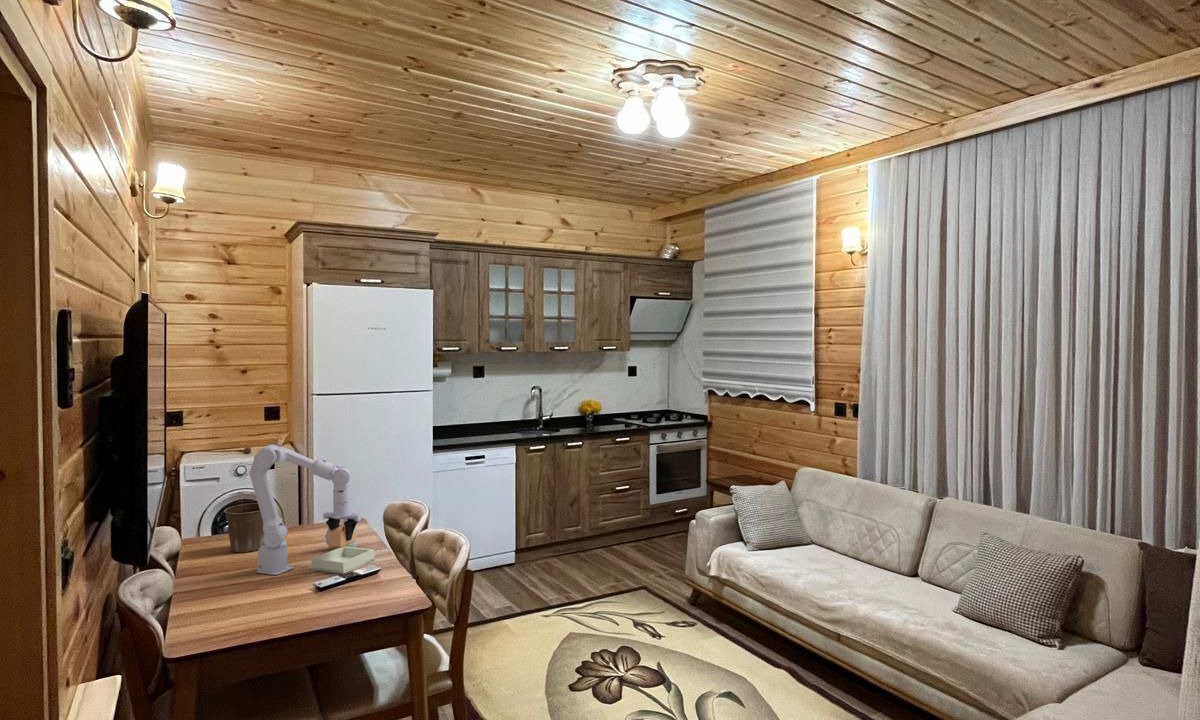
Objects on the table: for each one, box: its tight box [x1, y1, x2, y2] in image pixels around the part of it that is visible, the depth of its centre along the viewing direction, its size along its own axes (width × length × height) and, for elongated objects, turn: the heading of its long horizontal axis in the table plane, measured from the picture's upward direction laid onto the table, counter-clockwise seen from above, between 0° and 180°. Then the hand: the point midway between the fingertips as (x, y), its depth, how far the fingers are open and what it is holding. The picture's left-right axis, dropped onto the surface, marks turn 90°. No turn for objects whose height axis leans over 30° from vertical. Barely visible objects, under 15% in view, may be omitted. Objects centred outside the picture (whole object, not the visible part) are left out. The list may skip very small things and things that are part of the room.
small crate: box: [328, 526, 355, 549], centre depth 242 cm, size 5×8×6 cm, turn 164°
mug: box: [325, 520, 358, 549], centre depth 263 cm, size 8×12×12 cm, turn 125°
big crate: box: [310, 546, 375, 575], centre depth 243 cm, size 14×16×4 cm
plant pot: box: [223, 502, 265, 553], centre depth 264 cm, size 16×16×16 cm
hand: (342, 539), depth 243 cm, fingers closed on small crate, 5 cm apart
